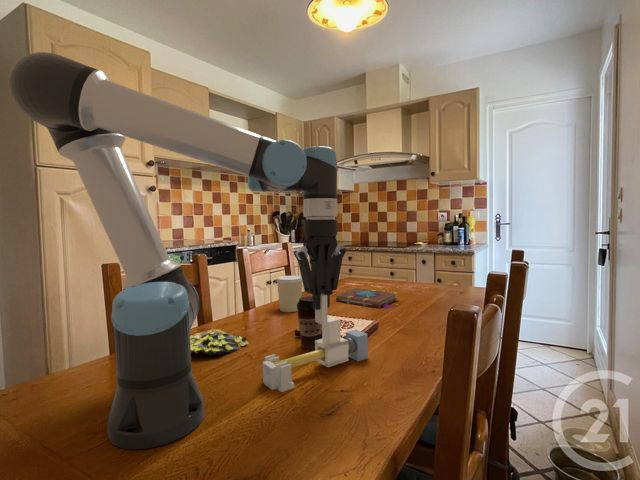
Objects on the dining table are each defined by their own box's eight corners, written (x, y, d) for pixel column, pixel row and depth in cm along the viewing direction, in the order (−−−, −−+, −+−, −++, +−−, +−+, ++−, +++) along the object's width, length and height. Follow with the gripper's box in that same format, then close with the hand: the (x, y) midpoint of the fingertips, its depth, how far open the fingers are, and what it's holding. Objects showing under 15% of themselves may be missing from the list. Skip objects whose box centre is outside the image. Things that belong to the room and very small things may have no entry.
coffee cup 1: (307, 308, 137) (307, 276, 136) (293, 314, 129) (292, 280, 128) (288, 305, 142) (287, 274, 141) (272, 310, 134) (271, 278, 133)
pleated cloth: (158, 353, 99) (161, 328, 100) (209, 350, 111) (211, 328, 113) (203, 357, 87) (205, 328, 88) (254, 353, 99) (255, 329, 101)
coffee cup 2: (325, 352, 93) (324, 302, 92) (294, 350, 94) (292, 301, 93) (331, 340, 101) (330, 294, 100) (302, 339, 103) (301, 293, 102)
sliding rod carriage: (327, 367, 81) (326, 324, 80) (315, 360, 85) (314, 319, 84) (348, 360, 84) (347, 319, 84) (335, 354, 88) (334, 314, 88)
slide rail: (277, 393, 72) (275, 364, 71) (259, 379, 78) (257, 352, 78) (373, 360, 87) (372, 335, 86) (351, 350, 93) (350, 327, 93)
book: (390, 314, 131) (389, 300, 130) (334, 304, 146) (334, 292, 146) (409, 302, 143) (409, 289, 143) (357, 294, 159) (356, 283, 158)
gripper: (305, 218, 74) (306, 332, 76) (353, 218, 82) (354, 321, 83) (286, 218, 80) (288, 323, 82) (333, 218, 88) (334, 314, 89)
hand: (321, 322), depth 82 cm, fingers closed
